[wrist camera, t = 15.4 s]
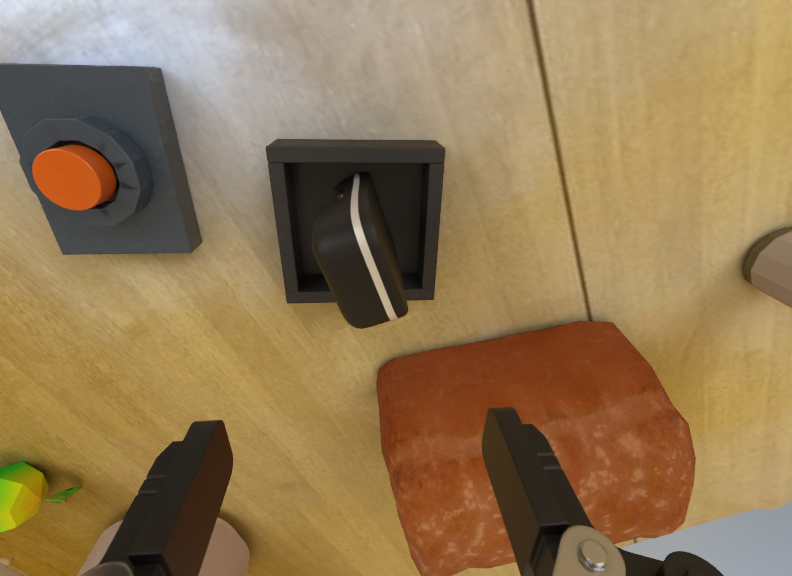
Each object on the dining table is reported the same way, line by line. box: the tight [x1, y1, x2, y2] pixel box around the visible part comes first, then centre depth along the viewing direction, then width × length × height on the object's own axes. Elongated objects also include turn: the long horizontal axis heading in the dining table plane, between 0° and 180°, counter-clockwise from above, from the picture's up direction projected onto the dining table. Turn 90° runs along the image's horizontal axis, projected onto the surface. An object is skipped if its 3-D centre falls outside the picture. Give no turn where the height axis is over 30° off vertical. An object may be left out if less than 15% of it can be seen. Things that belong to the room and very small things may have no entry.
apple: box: [0, 462, 81, 533], centre depth 39 cm, size 7×6×9 cm
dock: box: [266, 139, 445, 303], centre depth 29 cm, size 12×12×4 cm
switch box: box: [0, 63, 202, 255], centre depth 25 cm, size 12×9×4 cm
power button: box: [32, 145, 117, 211], centre depth 23 cm, size 4×4×2 cm
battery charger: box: [312, 172, 408, 329], centre depth 25 cm, size 7×4×11 cm, turn 18°
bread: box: [377, 321, 696, 576], centre depth 34 cm, size 17×24×15 cm
